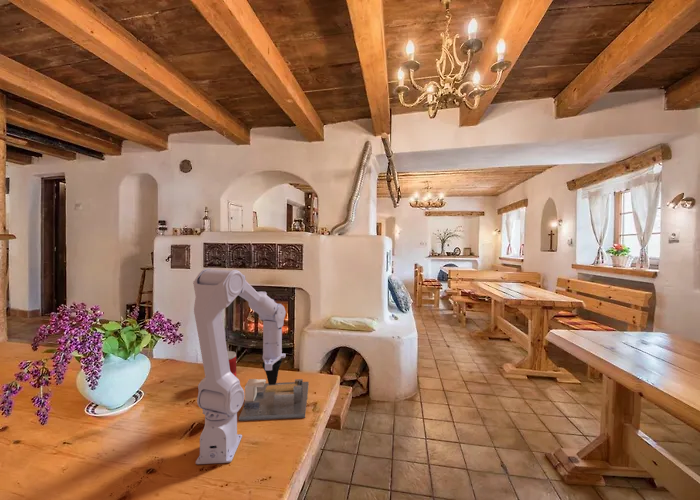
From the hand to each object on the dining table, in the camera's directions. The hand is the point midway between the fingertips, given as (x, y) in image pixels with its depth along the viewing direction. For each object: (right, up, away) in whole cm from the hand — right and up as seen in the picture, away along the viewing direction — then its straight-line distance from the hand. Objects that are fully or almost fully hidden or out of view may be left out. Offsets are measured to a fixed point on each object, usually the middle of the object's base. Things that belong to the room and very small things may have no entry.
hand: (272, 383), depth 93 cm
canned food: (-20, -6, +11) cm, 24 cm away
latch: (-5, -5, 0) cm, 7 cm away
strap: (+3, -2, 0) cm, 4 cm away
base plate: (+1, -6, +1) cm, 6 cm away
